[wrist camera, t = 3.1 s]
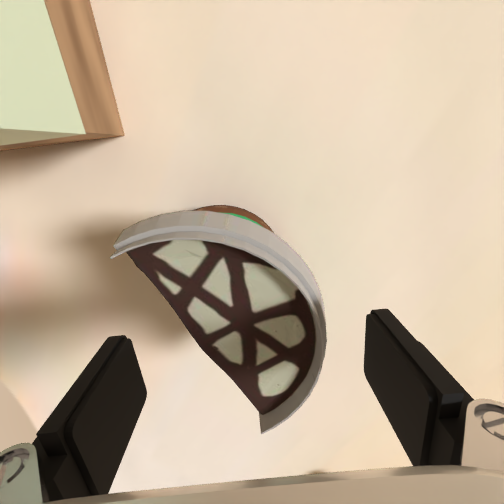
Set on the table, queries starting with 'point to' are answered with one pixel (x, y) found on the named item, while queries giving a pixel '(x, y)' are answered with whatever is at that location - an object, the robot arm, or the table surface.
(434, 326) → the table surface
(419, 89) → the table surface
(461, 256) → the table surface
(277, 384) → the food container
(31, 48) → the tower top slab
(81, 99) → the tower base slab
